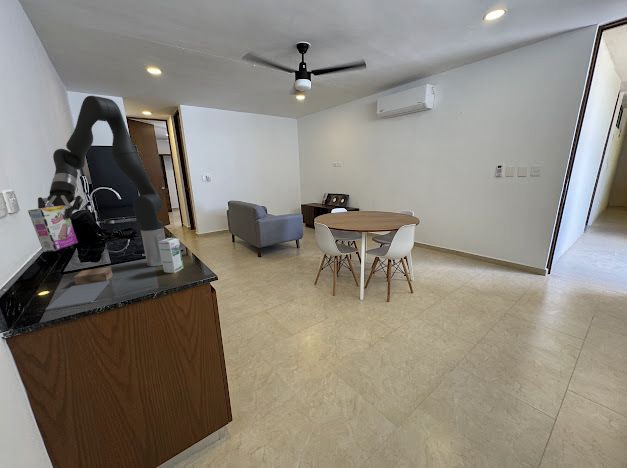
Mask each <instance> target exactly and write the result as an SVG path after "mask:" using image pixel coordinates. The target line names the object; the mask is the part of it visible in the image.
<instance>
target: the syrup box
mask: <svg viewBox="0 0 627 468" xmlns="http://www.w3.org/2000/svg"><path fill="white" fill-rule="evenodd" d="M158 243H159V248H160V253H161V258H162V263H163V265H162V269H163V272H164V273H167V274H168V273H170V274H176V273H177V272H179V271H181V270H183V269H184V268H185V267H184V262H183V256H182V255H183V254H182V250H181V245H180V239H179V238H178V237H177V238H176V237H167V238H165V240H162V241H159V242H158Z"/></svg>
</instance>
